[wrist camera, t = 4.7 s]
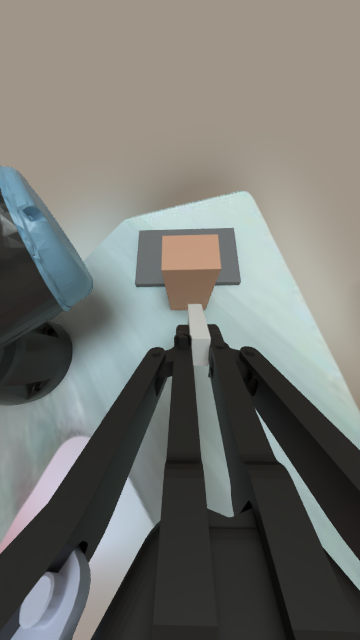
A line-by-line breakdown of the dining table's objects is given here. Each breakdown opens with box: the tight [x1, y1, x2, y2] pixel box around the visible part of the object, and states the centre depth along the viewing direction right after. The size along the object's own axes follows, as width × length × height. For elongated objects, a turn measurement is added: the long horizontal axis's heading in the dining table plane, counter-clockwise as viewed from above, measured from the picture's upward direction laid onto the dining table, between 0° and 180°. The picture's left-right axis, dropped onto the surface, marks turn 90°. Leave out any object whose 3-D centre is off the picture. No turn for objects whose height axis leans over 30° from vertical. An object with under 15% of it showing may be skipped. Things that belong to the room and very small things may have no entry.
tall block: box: [161, 234, 221, 310], centre depth 25 cm, size 7×5×14 cm
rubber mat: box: [135, 228, 241, 287], centre depth 34 cm, size 22×14×1 cm, turn 91°
